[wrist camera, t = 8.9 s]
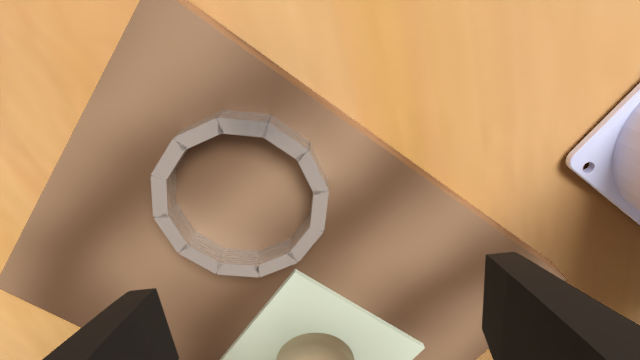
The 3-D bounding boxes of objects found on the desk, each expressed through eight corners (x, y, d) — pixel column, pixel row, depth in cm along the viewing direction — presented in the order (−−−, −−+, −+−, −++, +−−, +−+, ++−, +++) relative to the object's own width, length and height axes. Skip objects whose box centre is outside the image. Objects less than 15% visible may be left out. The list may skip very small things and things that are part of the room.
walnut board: (550, 261, 21) (567, 279, 20) (358, 435, 26) (361, 459, 25) (163, -17, 16) (149, -19, 15) (15, 267, 21) (-6, 286, 19)
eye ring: (359, 174, 17) (362, 185, 16) (268, 285, 20) (265, 301, 19) (215, 75, 16) (207, 81, 15) (133, 209, 18) (121, 222, 17)
